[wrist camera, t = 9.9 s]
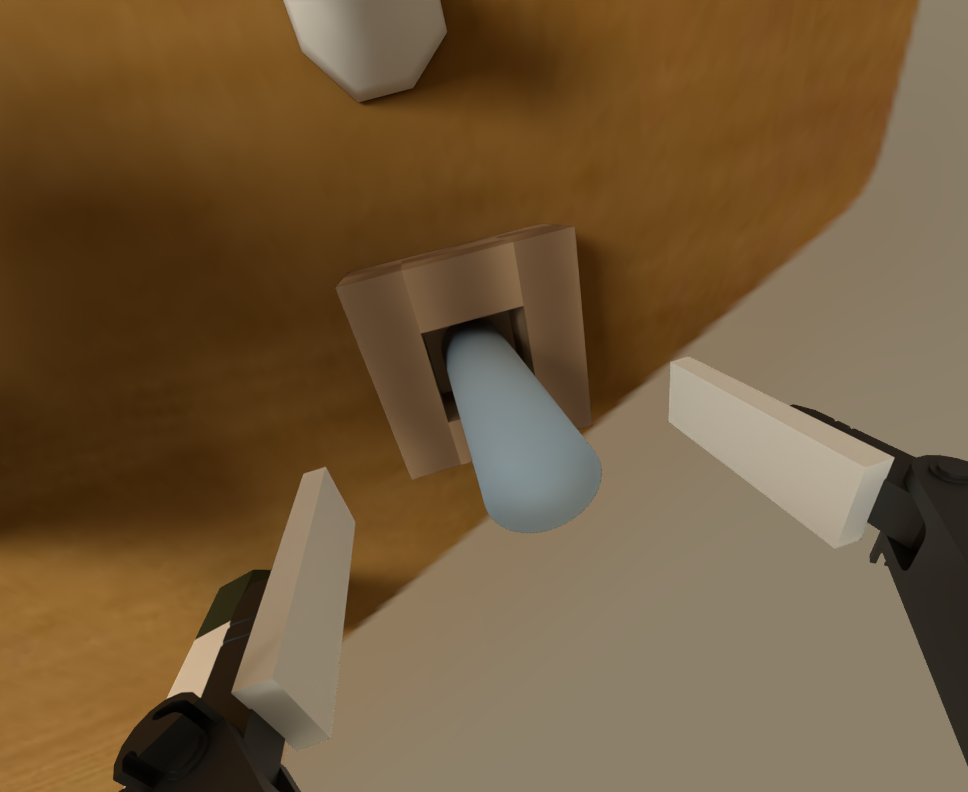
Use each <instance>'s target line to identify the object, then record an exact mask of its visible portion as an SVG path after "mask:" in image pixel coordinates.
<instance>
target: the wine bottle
mask: <svg viewBox="0 0 968 792" xmlns="http://www.w3.org/2000/svg"><path fill="white" fill-rule="evenodd" d="M270 573H271V571H264V570H252V571H251V572H249V573H247V574H245V575H243V576H241V577H239V578H238V579H236V580H234V581H232V582H230V583H228V584H227V585H225V586H223V587H221V588H220V589H219V591H218V593H217V595H216V597H215V599H214V601H213V603H212V606H211V608H210V610H209V612H208V614H207V616H206V618H205V620H204V622H203V624H202V626H201V628H200V630H199V633H198V635H197V637H196V639H195V641H194V643H193V645H192V647H191V649H190V651H189V653H188V655H187V657H186V659H185V662H184V664H183V666H182V668H181V670H180V672H179V674H178V676H177V678H176V680H175V682H174V684H173V686H172V688H171V691H170V693H169V695H168V697H167V699H168V698H170V697H172V696H174V695H176V694H179V693H181V692H194V693H195V694H196V695H197V696H198V697H200V698H201V696H202V693H203V691H204V688H205V686H206V683H207V680H208V678H209V675H210V673H211V670H212V668H213V665H214V662H215V660H216V657H217V655H218V652H219V650H220V647H221V646H222V645H223V639H224V637H225V634H226V632H227V629H228V628H230V625H229V624H230V621H231V619H232V616H233V614H234V611H235V608H236V606H237V603H238V602H239V601H240V599H241V598H242V597H243V595H244V594H245V592H246V591H247V590H248V588H249V587H250V585H251V584H252V583H255V582H258V581H261V580H264V579H267V578H269V576H270ZM288 746H289V744H288V743H287V742H286V741H285V744H284V749H283V754H282V759H281V764H282V765H283V766H284V764H285V760H286V755H287V750H288ZM125 787H126V786H124V788H125Z"/></svg>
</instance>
